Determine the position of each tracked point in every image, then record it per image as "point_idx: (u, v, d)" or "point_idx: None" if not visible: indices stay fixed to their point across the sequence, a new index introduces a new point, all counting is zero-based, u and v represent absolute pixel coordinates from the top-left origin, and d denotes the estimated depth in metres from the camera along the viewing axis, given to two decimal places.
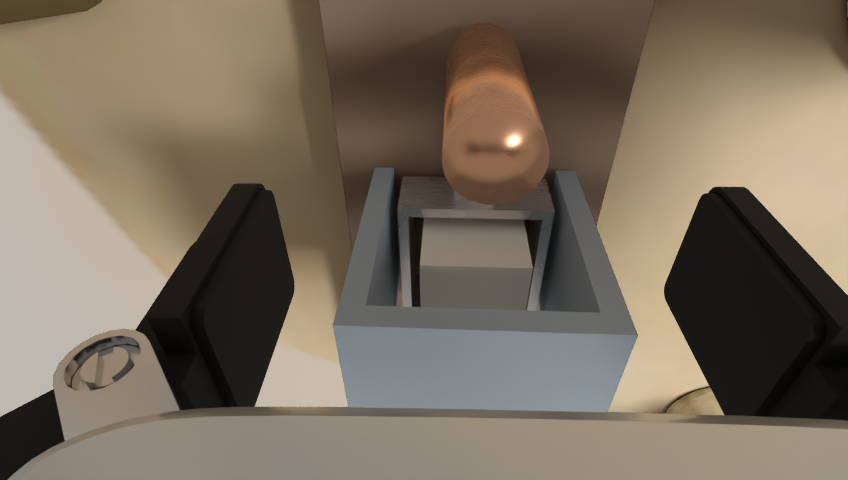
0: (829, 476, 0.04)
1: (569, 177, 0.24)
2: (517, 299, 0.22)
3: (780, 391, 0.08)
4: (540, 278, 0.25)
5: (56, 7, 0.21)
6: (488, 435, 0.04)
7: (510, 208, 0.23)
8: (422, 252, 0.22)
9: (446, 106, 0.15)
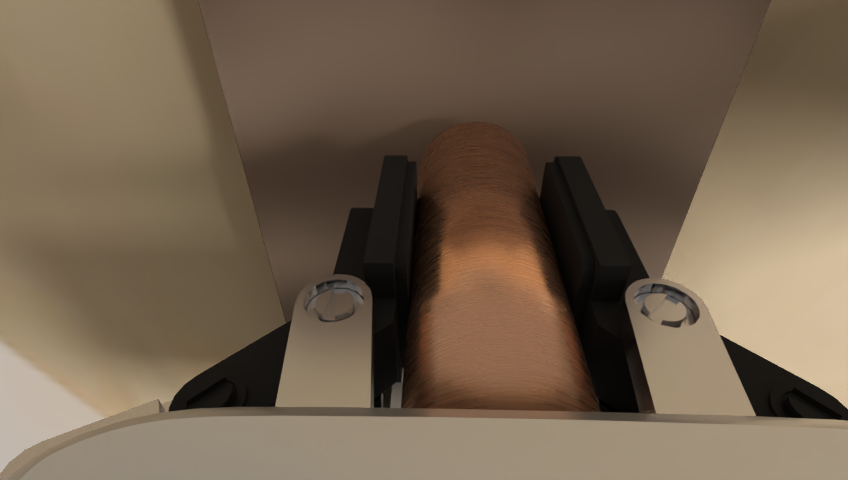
0: (829, 476, 0.04)
1: None
2: None
3: None
4: None
5: None
6: (488, 435, 0.04)
7: None
8: None
9: (409, 324, 0.08)
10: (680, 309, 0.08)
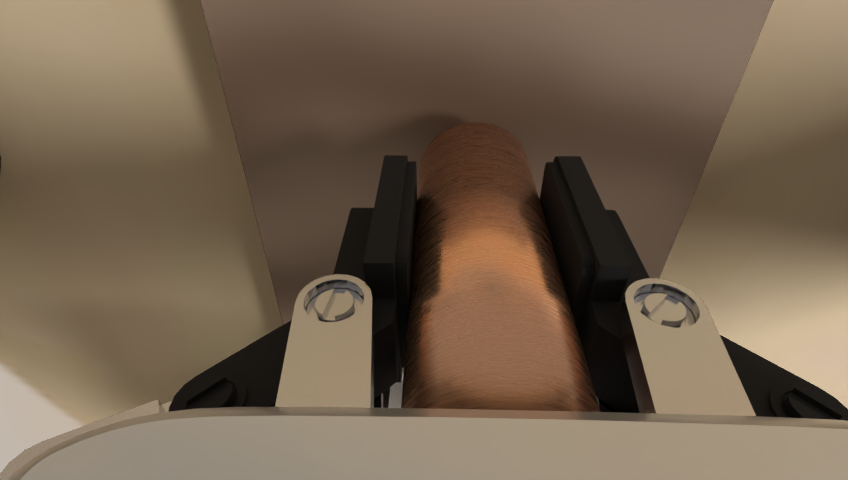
0: (829, 476, 0.04)
1: None
2: None
3: None
4: None
5: None
6: (488, 435, 0.04)
7: None
8: None
9: (409, 323, 0.08)
10: (680, 309, 0.08)
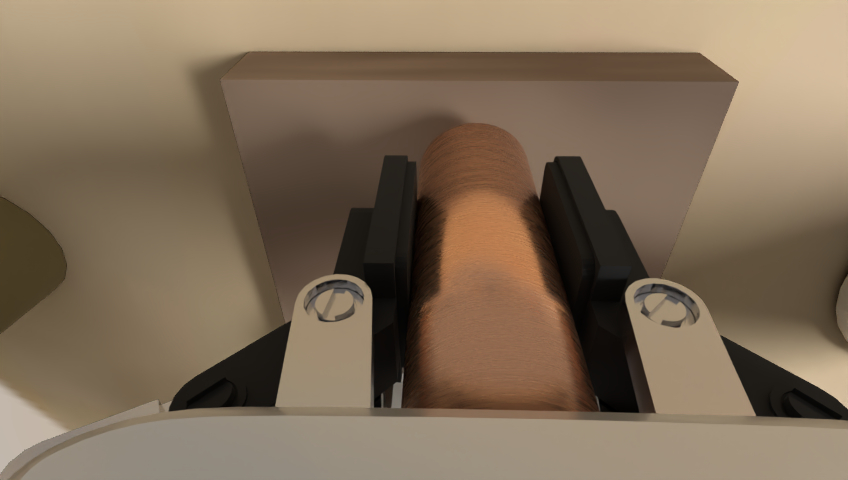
0: (829, 476, 0.04)
1: None
2: None
3: (576, 328, 0.09)
4: None
5: (4, 329, 0.20)
6: (488, 435, 0.04)
7: None
8: None
9: (409, 325, 0.08)
10: (680, 309, 0.08)
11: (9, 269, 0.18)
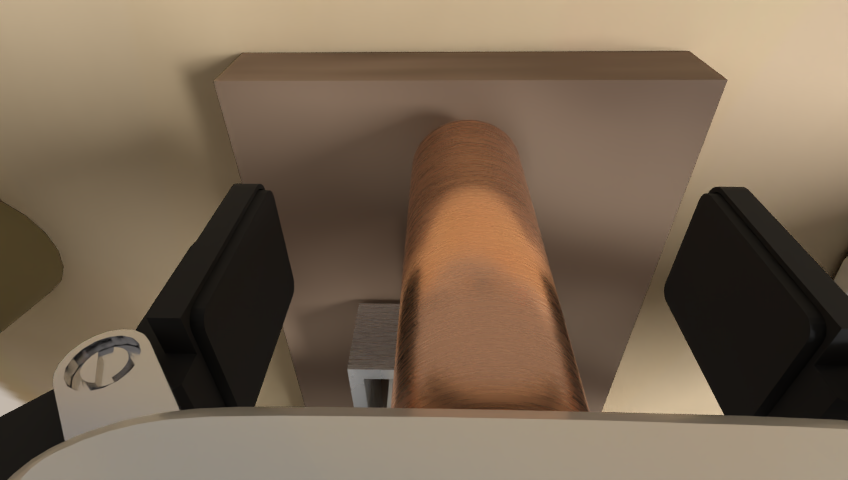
0: (829, 476, 0.04)
1: None
2: None
3: (780, 391, 0.08)
4: None
5: (1, 331, 0.20)
6: (488, 435, 0.04)
7: None
8: None
9: (400, 320, 0.08)
10: None
11: (5, 271, 0.18)
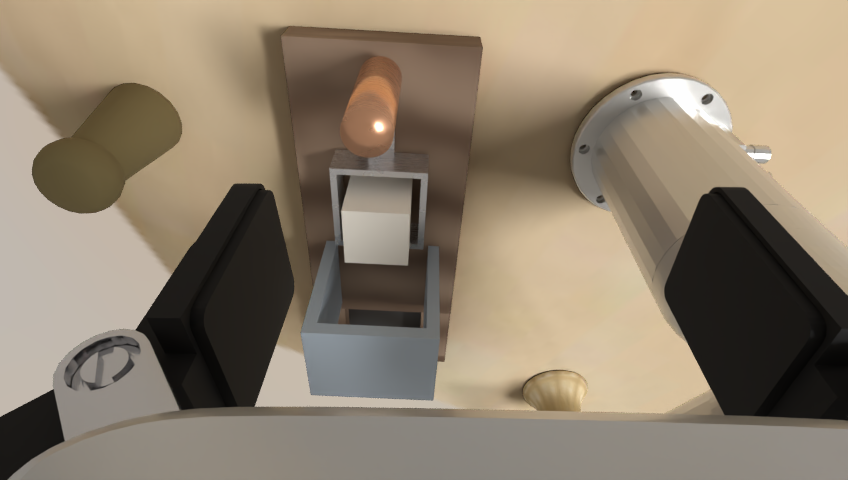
0: (829, 476, 0.04)
1: (434, 250, 0.44)
2: (402, 235, 0.36)
3: (780, 391, 0.08)
4: (424, 219, 0.39)
5: (154, 159, 0.39)
6: (488, 435, 0.04)
7: (401, 171, 0.36)
8: (344, 203, 0.36)
9: None
10: None
11: (163, 125, 0.38)
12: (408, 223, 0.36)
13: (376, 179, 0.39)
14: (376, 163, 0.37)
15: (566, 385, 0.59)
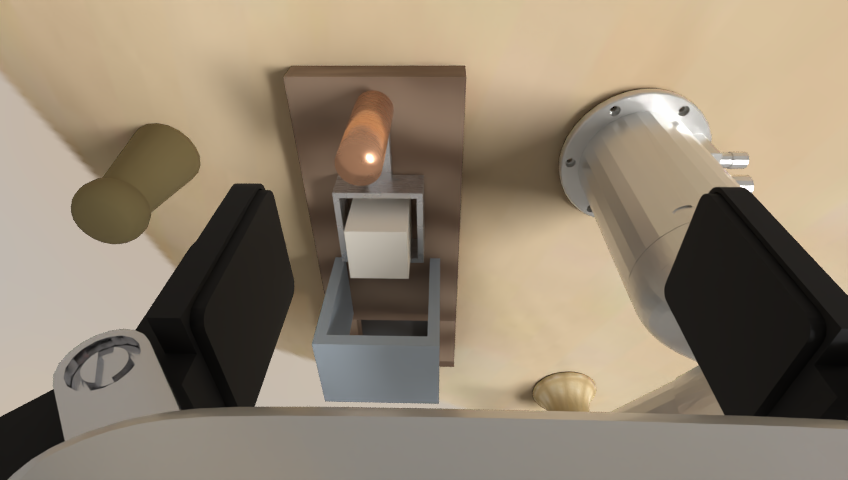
0: (829, 476, 0.04)
1: (436, 262, 0.47)
2: (401, 251, 0.39)
3: (780, 391, 0.08)
4: (422, 235, 0.42)
5: (177, 190, 0.43)
6: (488, 435, 0.04)
7: (397, 192, 0.39)
8: (346, 224, 0.39)
9: None
10: None
11: (183, 160, 0.42)
12: (406, 240, 0.39)
13: (377, 200, 0.42)
14: (375, 186, 0.40)
15: (574, 386, 0.61)
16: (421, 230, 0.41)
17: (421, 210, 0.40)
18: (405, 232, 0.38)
